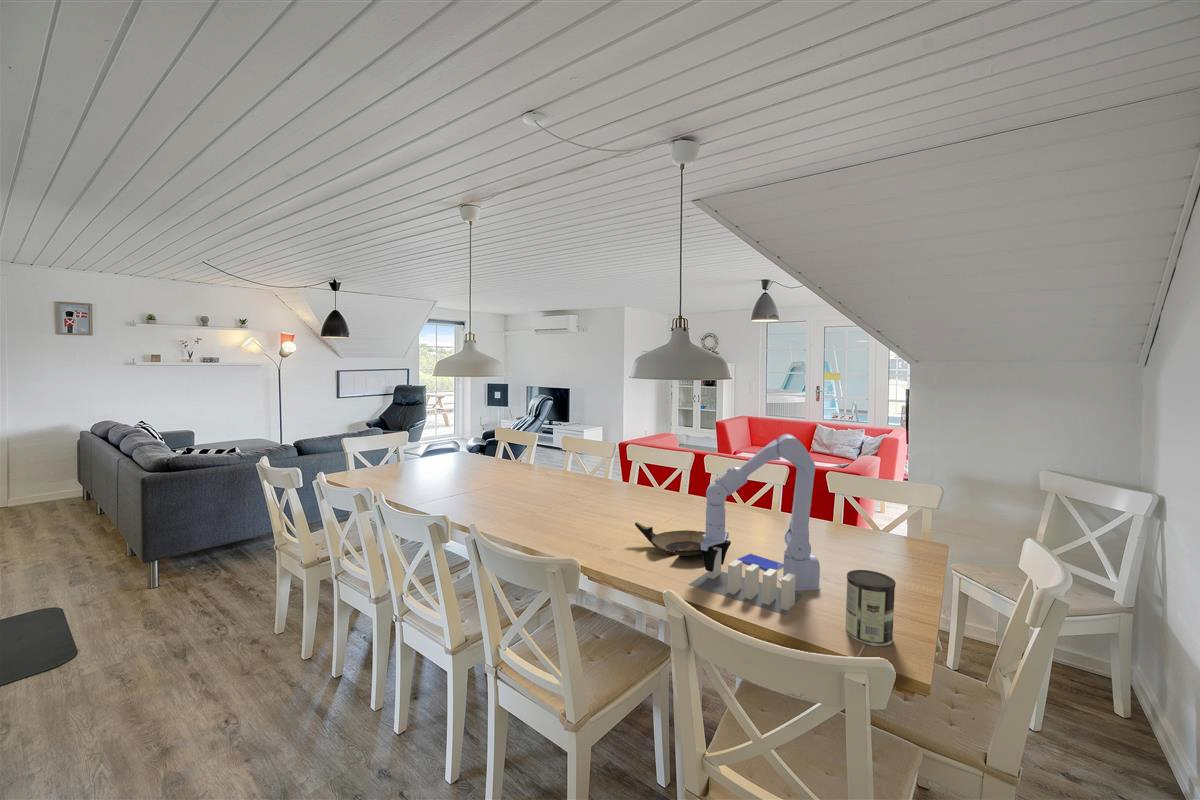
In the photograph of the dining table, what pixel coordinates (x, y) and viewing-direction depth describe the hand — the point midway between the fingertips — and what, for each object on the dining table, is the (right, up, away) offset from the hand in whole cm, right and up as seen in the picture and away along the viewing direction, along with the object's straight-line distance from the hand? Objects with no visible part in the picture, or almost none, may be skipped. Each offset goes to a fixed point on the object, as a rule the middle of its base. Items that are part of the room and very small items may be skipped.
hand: (714, 567), depth 156 cm
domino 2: (+4, -3, -10) cm, 11 cm away
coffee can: (+30, -6, -33) cm, 44 cm away
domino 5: (+15, -4, -19) cm, 25 cm away
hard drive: (+17, -3, +10) cm, 20 cm away
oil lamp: (-7, -2, +23) cm, 24 cm away
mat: (+7, -4, -9) cm, 12 cm away
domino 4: (+11, -4, -16) cm, 20 cm away
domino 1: (0, -3, 0) cm, 3 cm away
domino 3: (+7, -4, -13) cm, 15 cm away
